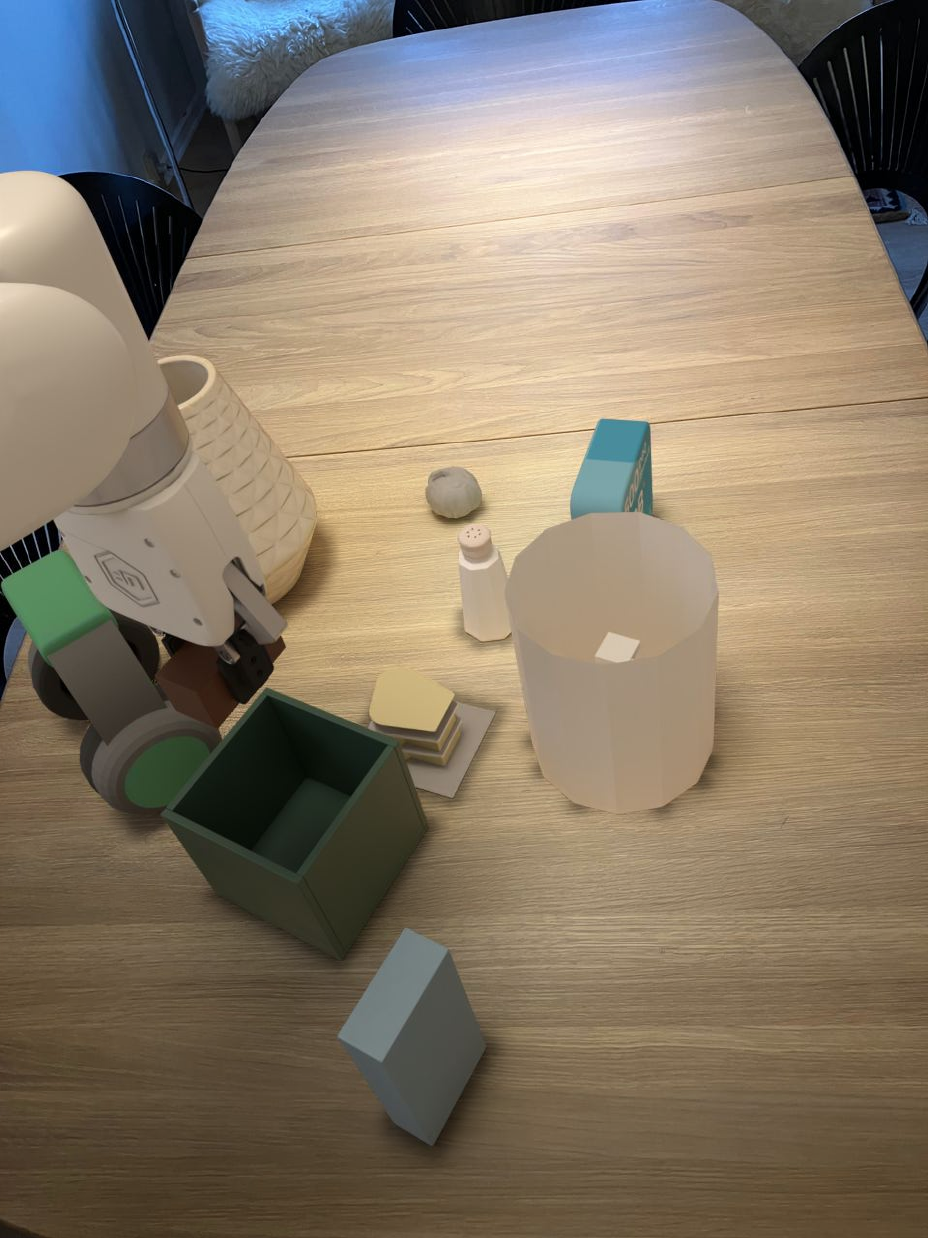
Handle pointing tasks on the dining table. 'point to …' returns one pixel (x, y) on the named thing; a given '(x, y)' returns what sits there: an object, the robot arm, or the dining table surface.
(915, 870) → the dining table surface
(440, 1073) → the grey-blue rectangular block
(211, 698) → the reddish brown block
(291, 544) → the vase
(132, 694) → the headphones
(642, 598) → the container
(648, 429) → the teal box
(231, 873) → the bin
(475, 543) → the pepper shaker
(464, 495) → the garlic
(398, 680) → the stacked layers on plate
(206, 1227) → the dining table surface
